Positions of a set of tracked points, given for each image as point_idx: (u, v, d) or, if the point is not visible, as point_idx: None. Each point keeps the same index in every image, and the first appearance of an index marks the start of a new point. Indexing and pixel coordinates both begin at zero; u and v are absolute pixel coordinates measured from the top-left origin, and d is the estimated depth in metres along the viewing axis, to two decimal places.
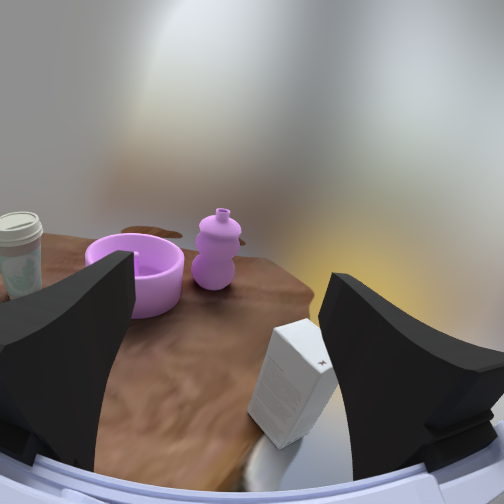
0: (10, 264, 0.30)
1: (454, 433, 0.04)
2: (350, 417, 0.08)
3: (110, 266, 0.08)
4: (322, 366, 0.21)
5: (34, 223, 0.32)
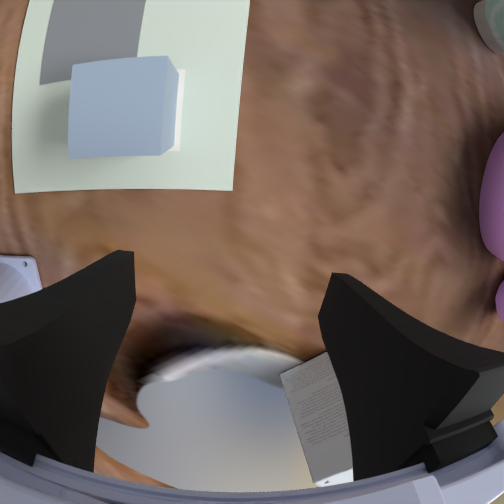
0: None
1: (455, 433, 0.04)
2: (351, 417, 0.08)
3: (110, 266, 0.08)
4: (321, 483, 0.16)
5: None
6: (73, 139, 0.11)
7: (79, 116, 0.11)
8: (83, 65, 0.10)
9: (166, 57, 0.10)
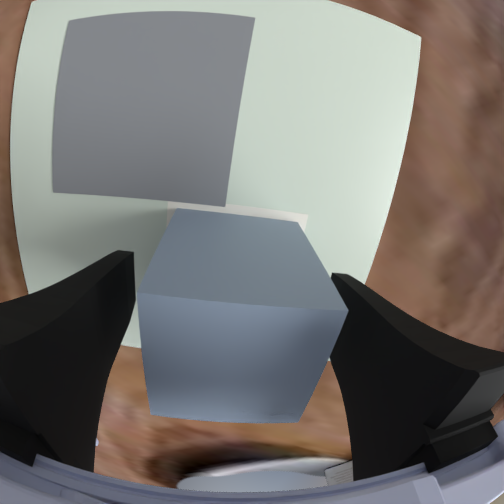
0: None
1: (455, 433, 0.04)
2: (350, 417, 0.08)
3: (110, 266, 0.08)
4: None
5: None
6: (159, 399, 0.07)
7: (167, 378, 0.07)
8: (164, 300, 0.06)
9: (345, 312, 0.06)
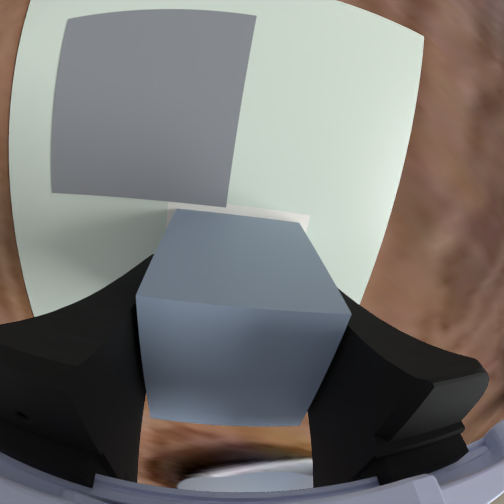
0: None
1: (413, 447, 0.04)
2: (312, 421, 0.08)
3: None
4: None
5: None
6: (159, 402, 0.07)
7: (167, 382, 0.07)
8: (163, 303, 0.06)
9: (348, 316, 0.06)
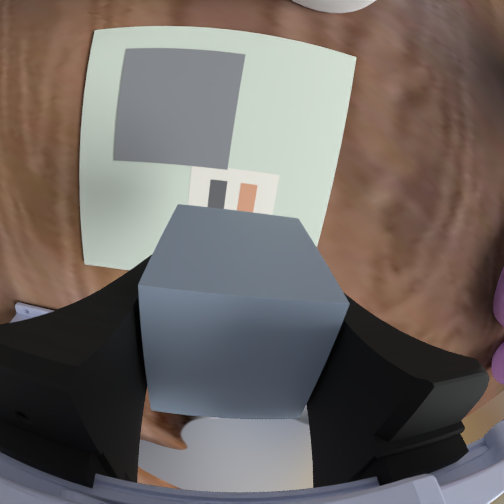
0: None
1: (413, 447, 0.04)
2: (312, 421, 0.08)
3: None
4: None
5: None
6: (159, 394, 0.07)
7: (167, 372, 0.07)
8: (165, 292, 0.06)
9: (346, 306, 0.06)
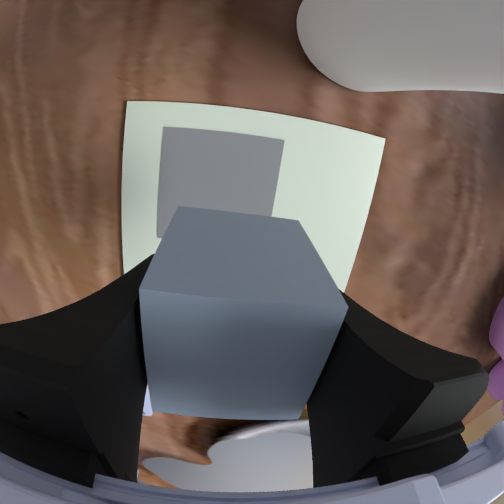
0: None
1: (413, 447, 0.04)
2: (312, 420, 0.08)
3: None
4: None
5: None
6: (160, 396, 0.07)
7: (168, 374, 0.07)
8: (166, 296, 0.06)
9: (345, 309, 0.06)
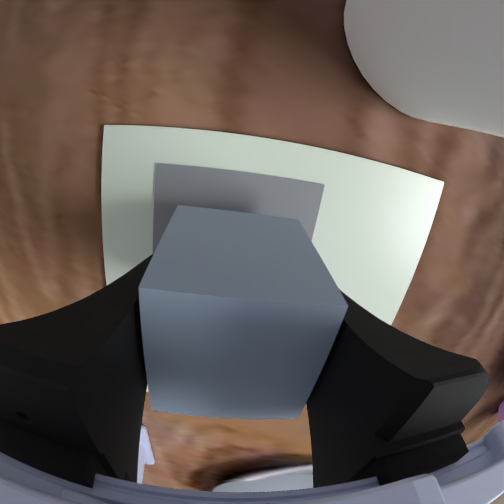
0: None
1: (413, 447, 0.04)
2: (312, 421, 0.08)
3: None
4: None
5: None
6: (160, 395, 0.07)
7: (168, 373, 0.07)
8: (165, 295, 0.06)
9: (345, 308, 0.06)
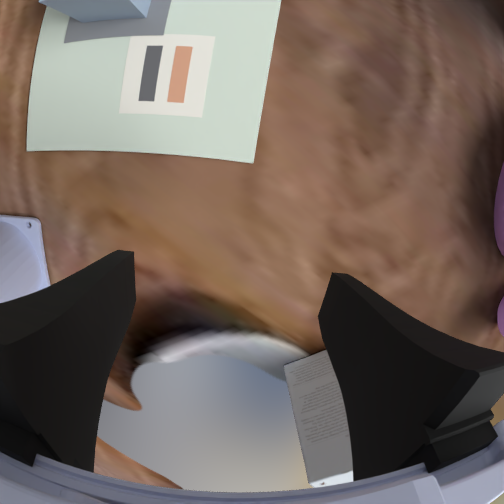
0: None
1: (454, 433, 0.04)
2: (350, 417, 0.08)
3: (110, 266, 0.08)
4: (317, 484, 0.15)
5: None
6: None
7: None
8: None
9: None
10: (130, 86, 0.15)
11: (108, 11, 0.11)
